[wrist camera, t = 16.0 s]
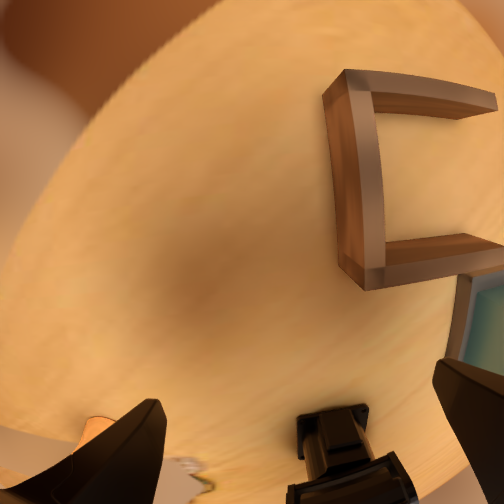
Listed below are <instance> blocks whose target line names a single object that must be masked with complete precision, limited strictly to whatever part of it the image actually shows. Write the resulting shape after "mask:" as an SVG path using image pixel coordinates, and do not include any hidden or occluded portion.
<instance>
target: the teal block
mask: <svg viewBox="0 0 504 504" xmlns="http://www.w3.org/2000/svg"><path fill="white" fill-rule="evenodd" d="M463 361H464V362H465V363H467V364H470V365H473V366H476V367H479V368H482V369H485V370H488V371H491V372H494V373H497V374H500V375H503V376H504V285H501V286H498V287H494V288H491V289H487V290H484V291H480V292H477V298H476V304H475V310H474V316H473V321H472V326H471V331H470V336H469V340H468V344H467V348H466V352H465V356H464V360H463Z"/></svg>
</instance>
